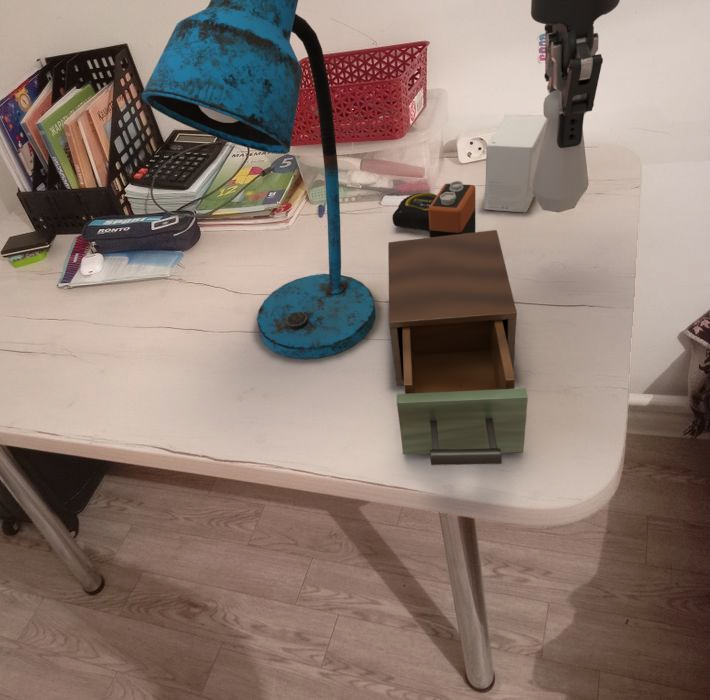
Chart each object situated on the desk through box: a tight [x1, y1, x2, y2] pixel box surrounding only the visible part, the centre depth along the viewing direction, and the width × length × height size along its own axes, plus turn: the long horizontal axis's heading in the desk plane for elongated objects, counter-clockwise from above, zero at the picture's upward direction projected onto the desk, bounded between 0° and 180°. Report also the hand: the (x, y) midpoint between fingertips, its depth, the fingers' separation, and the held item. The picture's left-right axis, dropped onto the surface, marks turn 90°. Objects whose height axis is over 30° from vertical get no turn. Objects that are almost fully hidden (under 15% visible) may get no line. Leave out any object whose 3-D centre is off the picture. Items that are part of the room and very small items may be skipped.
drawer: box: [396, 320, 529, 466], centre depth 63 cm, size 19×11×8 cm, turn 169°
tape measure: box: [391, 192, 438, 233], centre depth 94 cm, size 7×7×4 cm
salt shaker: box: [532, 90, 589, 213], centre depth 68 cm, size 6×6×13 cm
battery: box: [428, 180, 476, 238], centre depth 85 cm, size 4×7×10 cm, turn 147°
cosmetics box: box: [483, 113, 548, 213], centre depth 92 cm, size 10×6×10 cm, turn 148°
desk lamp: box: [141, 0, 377, 360], centre depth 69 cm, size 16×22×45 cm
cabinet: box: [387, 229, 518, 386], centre depth 73 cm, size 16×13×10 cm
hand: (563, 135), depth 67 cm, fingers closed on salt shaker, 4 cm apart
